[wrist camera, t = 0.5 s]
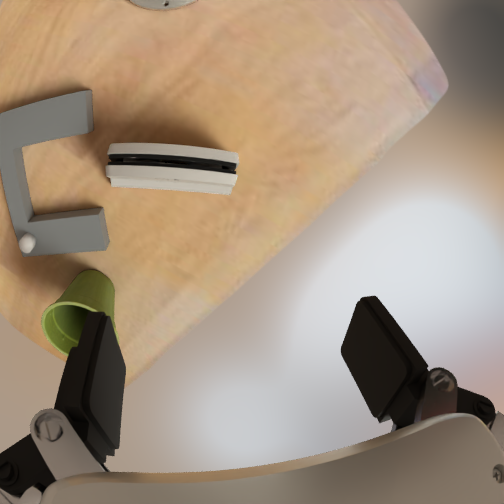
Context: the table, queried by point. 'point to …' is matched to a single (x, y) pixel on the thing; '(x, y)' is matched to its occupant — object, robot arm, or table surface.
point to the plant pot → (78, 309)
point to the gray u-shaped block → (15, 183)
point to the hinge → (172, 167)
